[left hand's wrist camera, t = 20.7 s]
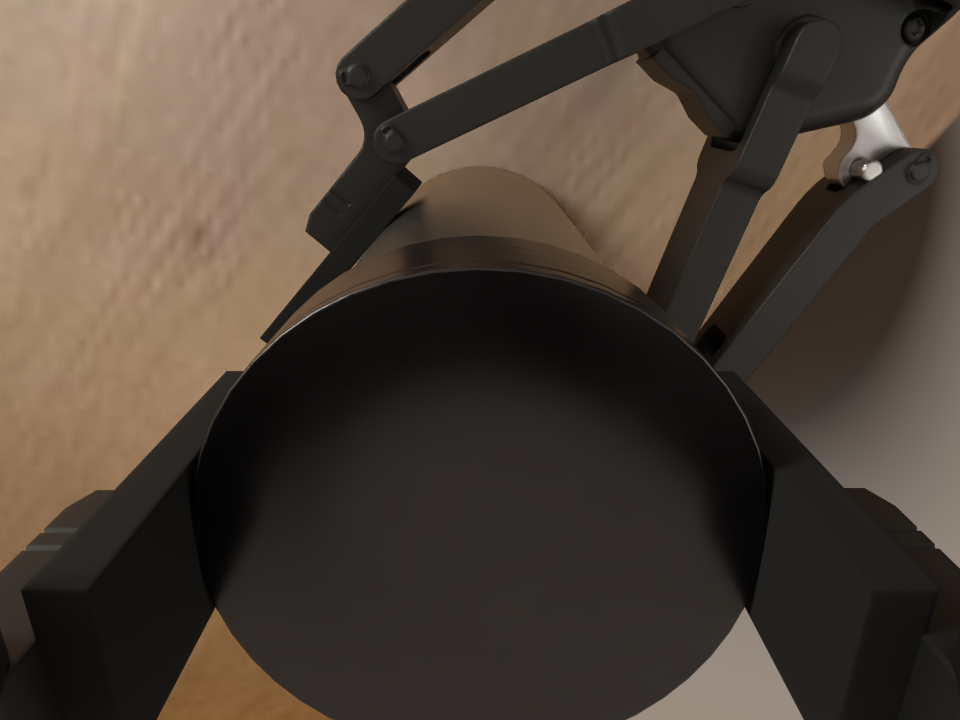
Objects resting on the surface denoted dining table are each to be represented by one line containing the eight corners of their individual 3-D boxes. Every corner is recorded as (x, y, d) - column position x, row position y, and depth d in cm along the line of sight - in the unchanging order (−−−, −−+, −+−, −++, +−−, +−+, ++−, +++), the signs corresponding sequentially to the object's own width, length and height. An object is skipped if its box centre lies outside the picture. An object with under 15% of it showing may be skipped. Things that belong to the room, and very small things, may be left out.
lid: (159, 313, 11) (86, 362, 9) (675, 170, 11) (725, 186, 8) (337, 692, 14) (312, 794, 12) (748, 603, 14) (798, 697, 11)
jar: (545, 378, 30) (631, 743, 13) (364, 333, 29) (201, 658, 12) (604, 196, 27) (815, 357, 10) (405, 141, 26) (270, 215, 9)
